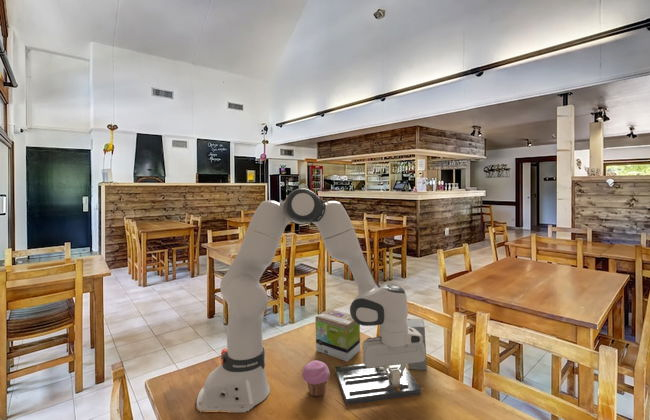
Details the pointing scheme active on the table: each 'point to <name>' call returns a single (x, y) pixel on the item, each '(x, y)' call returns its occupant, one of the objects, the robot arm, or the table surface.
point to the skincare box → (420, 327)
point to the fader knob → (394, 374)
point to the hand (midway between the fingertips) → (394, 376)
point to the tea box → (337, 334)
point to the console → (373, 384)
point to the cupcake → (316, 377)
